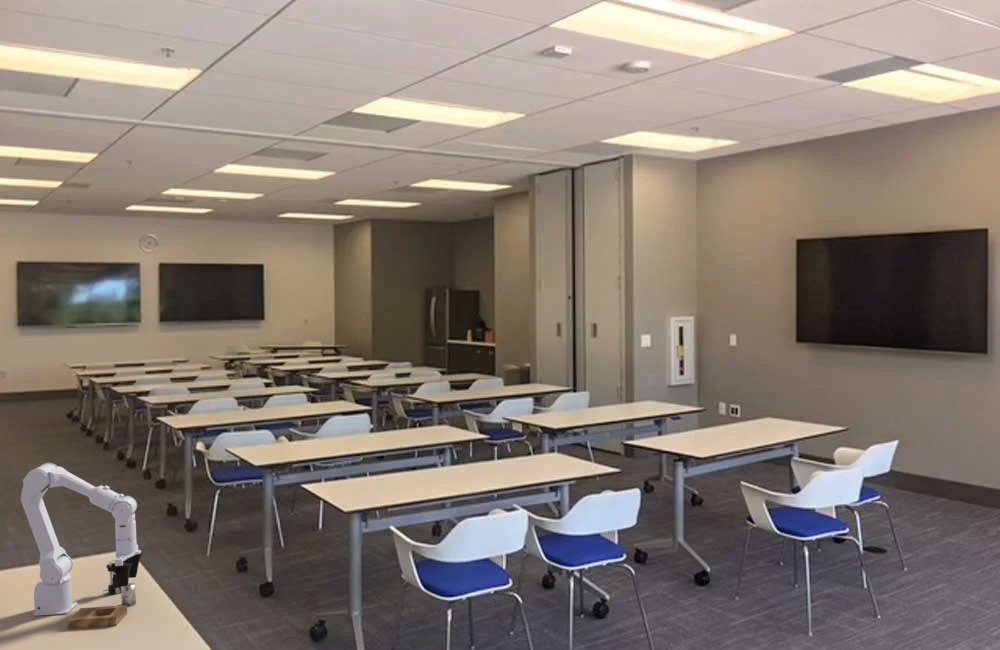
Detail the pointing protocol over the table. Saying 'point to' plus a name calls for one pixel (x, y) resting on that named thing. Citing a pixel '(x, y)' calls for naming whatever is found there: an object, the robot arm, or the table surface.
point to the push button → (112, 581)
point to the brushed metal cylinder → (128, 595)
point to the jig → (97, 617)
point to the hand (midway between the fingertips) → (128, 581)
